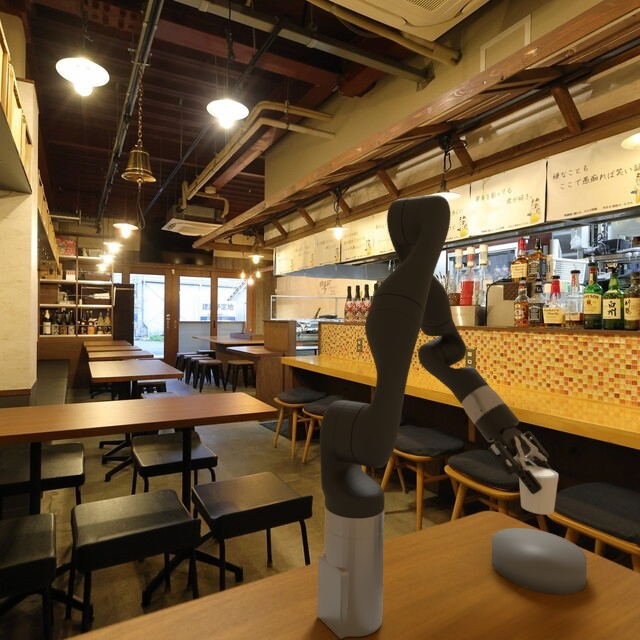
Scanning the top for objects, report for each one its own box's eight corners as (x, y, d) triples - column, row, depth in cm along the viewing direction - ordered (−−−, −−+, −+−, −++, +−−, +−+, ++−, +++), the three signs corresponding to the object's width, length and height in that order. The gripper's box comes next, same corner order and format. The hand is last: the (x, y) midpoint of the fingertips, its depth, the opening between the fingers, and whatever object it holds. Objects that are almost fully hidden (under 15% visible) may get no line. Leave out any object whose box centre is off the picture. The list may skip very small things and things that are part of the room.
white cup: (523, 497, 90) (524, 462, 90) (561, 507, 85) (562, 470, 85) (512, 508, 84) (513, 471, 84) (553, 519, 80) (553, 480, 80)
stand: (557, 605, 74) (557, 581, 74) (474, 561, 87) (474, 541, 87) (603, 576, 83) (603, 554, 83) (521, 540, 96) (521, 521, 96)
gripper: (482, 406, 86) (544, 485, 77) (518, 398, 95) (577, 468, 86) (457, 428, 90) (514, 506, 81) (494, 419, 99) (548, 488, 90)
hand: (546, 486), depth 84 cm, fingers closed on white cup, 7 cm apart
